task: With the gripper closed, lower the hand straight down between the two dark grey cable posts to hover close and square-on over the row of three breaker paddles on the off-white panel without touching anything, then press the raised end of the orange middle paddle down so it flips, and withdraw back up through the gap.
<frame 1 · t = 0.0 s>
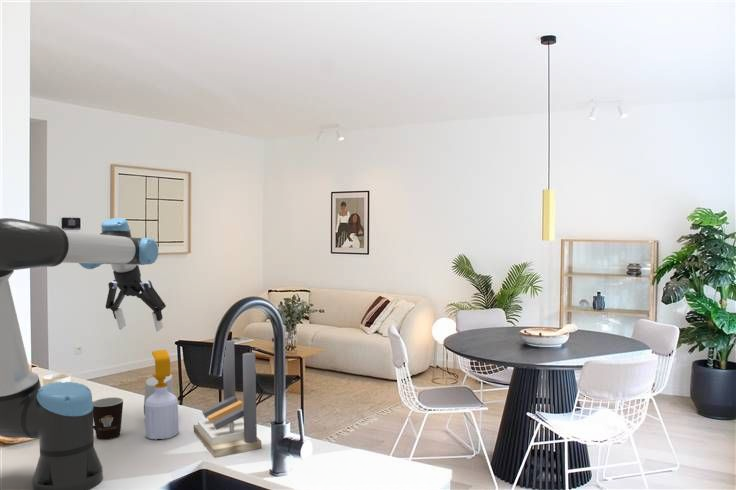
hand: (141, 328, 196), 28 cm above the worktop, tool tilted 20°, fingers open, 13 cm apart
cable posts: (239, 389, 176), on the board, point 14 cm above the worktop
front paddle: (231, 417, 169), point 8 cm above the worktop, hinge at -18.0°
board: (226, 439, 175), on the worktop
middle paddle: (225, 411, 174), point 8 cm above the worktop, hinge at -18.0°
coffee mug: (103, 436, 179), on the worktop
soap bottle: (162, 435, 179), on the worktop
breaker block: (225, 424, 174), on the board, point 4 cm above the worktop
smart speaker: (159, 420, 192), on the worktop
back paddle: (220, 406, 179), point 8 cm above the worktop, hinge at -18.0°
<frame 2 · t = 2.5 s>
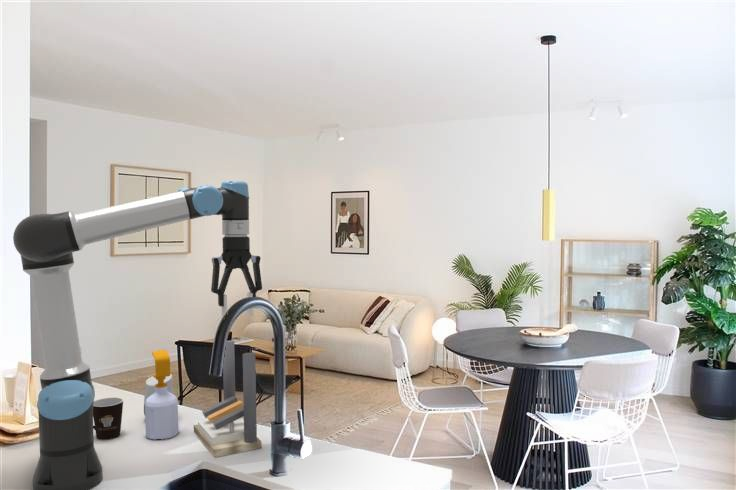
hand: (237, 316, 175), 35 cm above the worktop, tool pointing down, fingers open, 7 cm apart
nothing on the worktop moved.
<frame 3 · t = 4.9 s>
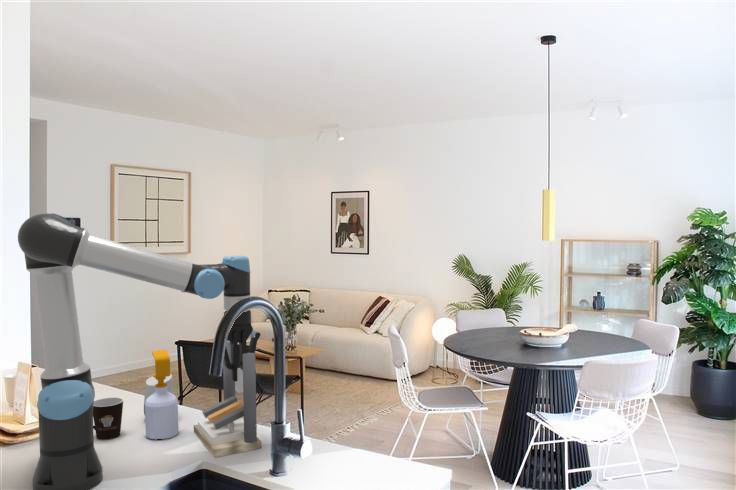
hand: (239, 391, 176), 13 cm above the worktop, tool pointing down, fingers closed
nothing on the worktop moved.
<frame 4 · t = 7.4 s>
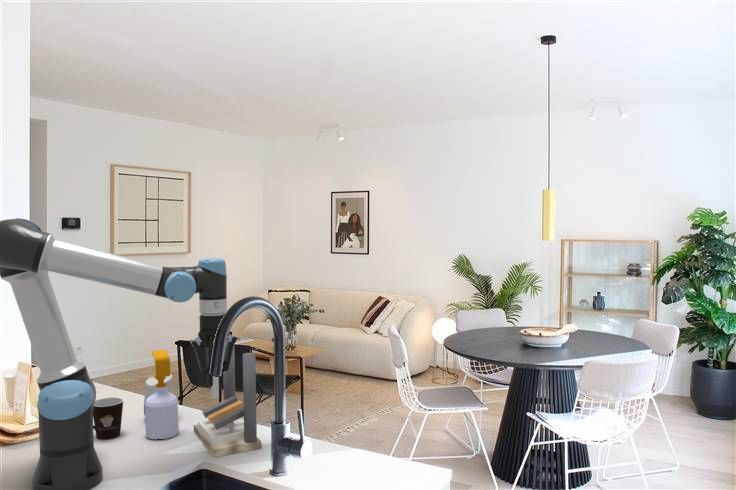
hand: (214, 396, 172), 13 cm above the worktop, tool pointing down, fingers closed
nothing on the worktop moved.
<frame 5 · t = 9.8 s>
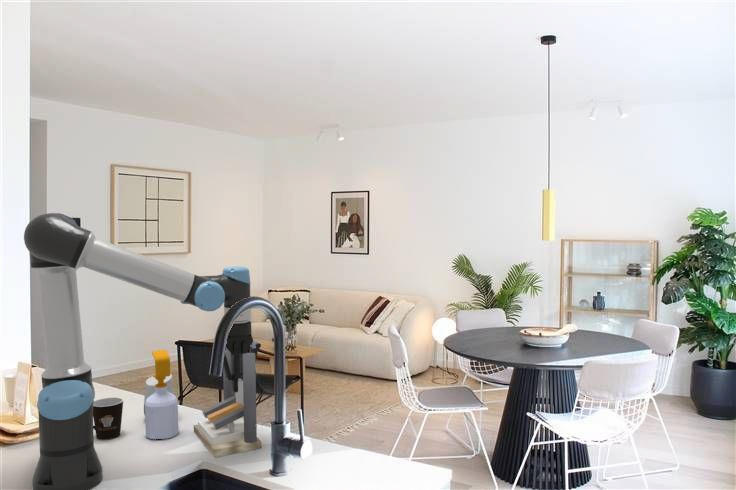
hand: (240, 402, 176), 10 cm above the worktop, tool pointing down, fingers closed
middle paddle: (225, 411, 174), point 8 cm above the worktop, hinge at -15.8°, touching gripper
everything else where it was.
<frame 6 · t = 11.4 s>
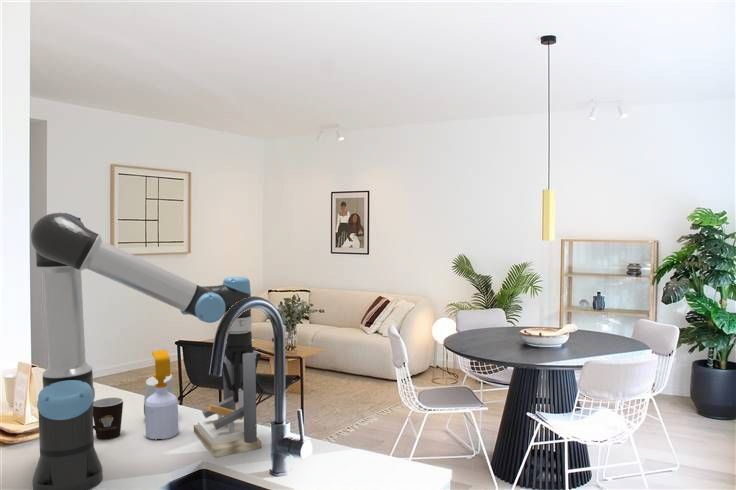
hand: (240, 412, 176), 7 cm above the worktop, tool pointing down, fingers closed
middle paddle: (225, 411, 174), point 8 cm above the worktop, hinge at 24.1°, touching gripper
everything else where it was.
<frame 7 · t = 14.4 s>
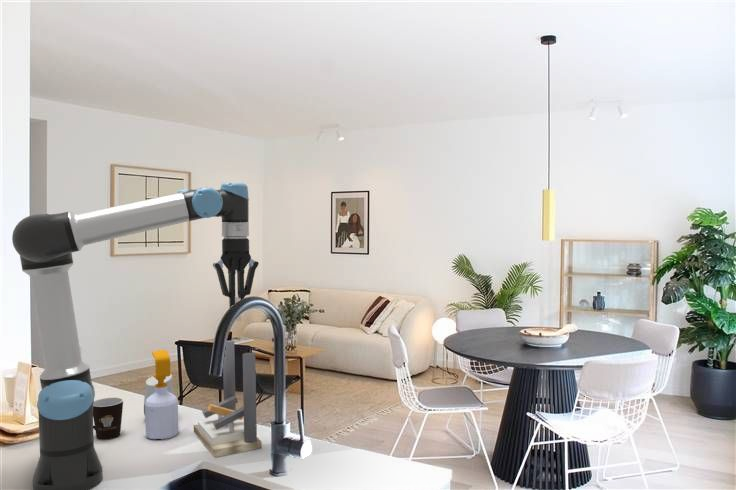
hand: (236, 320, 175), 34 cm above the worktop, tool pointing down, fingers closed
middle paddle: (225, 411, 174), point 8 cm above the worktop, hinge at 24.1°
everything else where it was.
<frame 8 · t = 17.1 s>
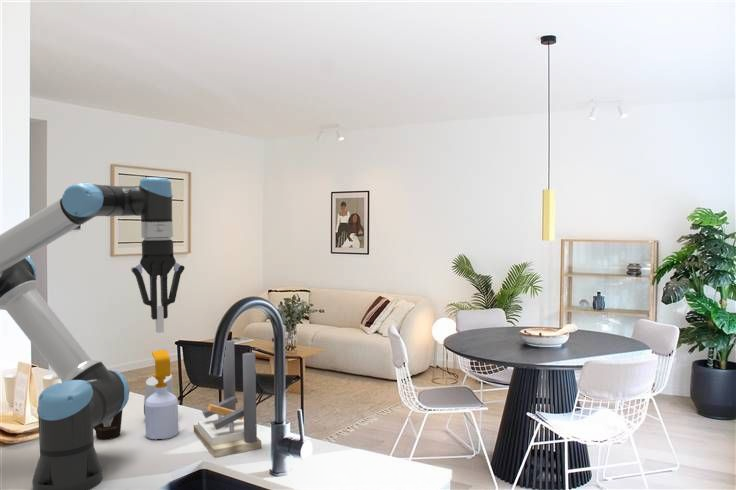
hand: (159, 331, 156), 34 cm above the worktop, tool pointing down, fingers closed
nothing on the worktop moved.
at the end: middle paddle at +24° (first picture: -18°); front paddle at -18° (first picture: -18°); back paddle at -18° (first picture: -18°) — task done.
